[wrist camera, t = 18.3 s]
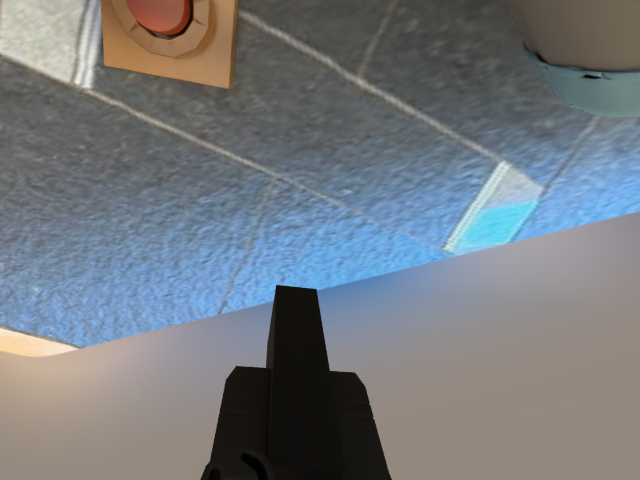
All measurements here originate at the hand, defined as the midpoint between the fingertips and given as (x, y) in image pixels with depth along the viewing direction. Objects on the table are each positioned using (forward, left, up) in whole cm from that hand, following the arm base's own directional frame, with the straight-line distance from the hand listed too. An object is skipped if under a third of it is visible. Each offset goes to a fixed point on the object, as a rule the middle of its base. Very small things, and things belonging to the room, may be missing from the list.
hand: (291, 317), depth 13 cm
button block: (-12, -11, -24) cm, 29 cm away
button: (-12, -11, -21) cm, 26 cm away
